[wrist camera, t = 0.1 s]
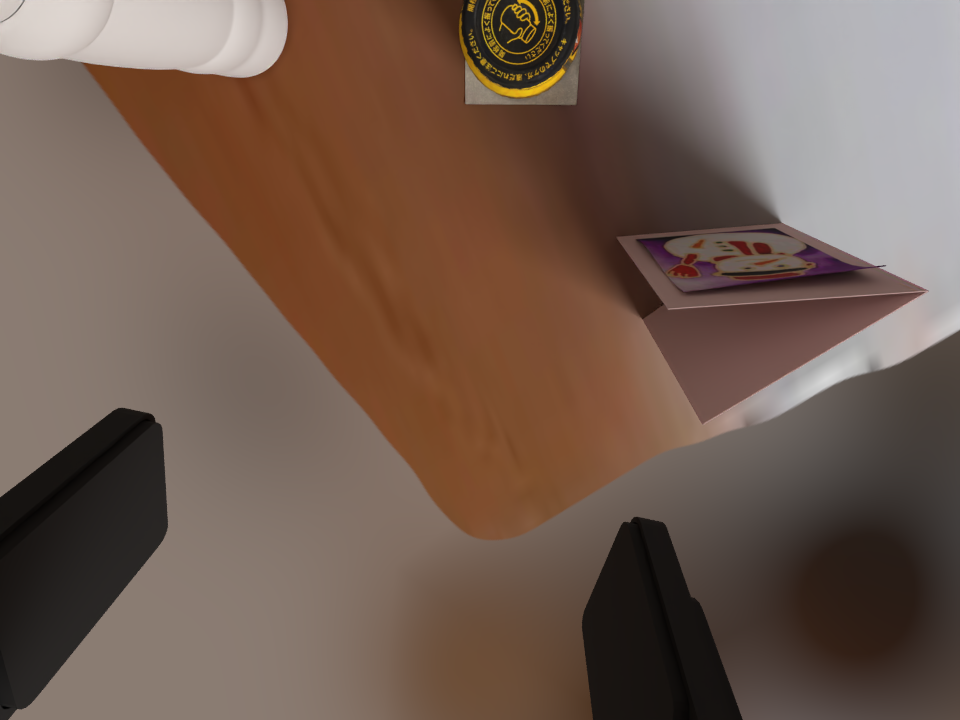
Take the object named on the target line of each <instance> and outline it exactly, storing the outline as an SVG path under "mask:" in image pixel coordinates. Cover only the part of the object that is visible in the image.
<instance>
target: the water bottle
mask: <svg viewBox="0 0 960 720" xmlns="http://www.w3.org/2000/svg"><path fill="white" fill-rule="evenodd" d="M287 28H288V19H287V11H286V6H285V2H284V0H0V54H4V55H7V56H11V57H15V58H21V59H28V60H53V59H60V58H64V59H69V60H74V61H79V62H85V63H91V64H99V65H107V66H116V67H126V68H139V69H178V70H181V71H185V72H190V73H197V74H218V75H222V76H228V77H251V76H255V75H258V74H260V73H262V72H264V71H266V70H267V69H268V68H270V67H271V66H272V65H273V64H274V63H275V61H276V60H277V59H278V57H279V56H280V54H281V52H282V50H283V47H284V45H285V42H286V37H287Z"/></svg>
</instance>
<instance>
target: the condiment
mask: <svg viewBox="0 0 960 720" xmlns="http://www.w3.org/2000/svg"><path fill="white" fill-rule="evenodd" d="M583 10H584V0H464V2H463V6H462V8H461V13H460V17H459V37H460V45H461V49H462V51H463V54H464V57H465V104H517V105H576V103H577V89H578V75H579V62H580V49H581V36H582V24H583Z"/></svg>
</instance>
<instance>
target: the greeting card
mask: <svg viewBox="0 0 960 720" xmlns="http://www.w3.org/2000/svg"><path fill="white" fill-rule="evenodd" d="M616 238H617V239H618V241H619V242H620V244H621V245H622V246H623V248H624V249H625V251H626V252H627V253H628V255H629V256H630V257H631V259H632V260H633V262H634V263H635V264H636V266H637V267H638V269H639V270H640V271H641V273H642V274H643V276H644V277H645V278H646V280H647V281H648V283H649V284H650V285H651V287H652V288H653V290H654V291H655V292H656V294H657V295H658V296H659V298H660V299H661V301H662V302H663V303H664V305H663V306H661V307H660V308H658V309H657V310H655V311H654V312H652V313H651V314H650V315H648V316H647V317H645V318H644V319H643V321H644V323H645V324H646V326H647V328H648V330H649V331H650V333H651V335H652V337H653V338H654V340H655V342H656V344H657V345H658V347H659V349H660V351H661V353H662V354H663V356H664V358H665V360H666V361H667V363H668V365H669V367H670V368H671V370H672V372H673V374H674V375H675V377H676V379H677V381H678V382H679V384H680V386H681V388H682V389H683V391H684V393H685V395H686V396H687V398H688V400H689V402H690V403H691V405H692V407H693V409H694V410H695V412H696V414H697V416H698V417H699V419H700V421H701V423H702V424H705V423H707V422H709V421H710V420H712V419H714V418H715V417H717V416H719V415H720V414H722V413H724V412H725V411H727V410H729V409H731V408H732V407H734V406H736V405H737V404H739V403H741V402H742V401H744V400H746V399H747V398H749V397H751V396H753V395H754V394H756V393H758V392H759V391H761V390H763V389H764V388H766V387H768V386H769V385H771V384H773V383H775V382H776V381H778V380H780V379H781V378H783V377H785V376H786V375H788V374H790V373H791V372H793V371H795V370H797V369H798V368H800V367H802V366H803V365H805V364H807V363H808V362H810V361H812V360H813V359H815V358H817V357H819V356H820V355H822V354H824V353H825V352H827V351H829V350H830V349H832V348H834V347H835V346H837V345H839V344H841V343H842V342H844V341H846V340H847V339H849V338H851V337H852V336H854V335H856V334H857V333H859V332H861V331H863V330H864V329H866V328H868V327H869V326H871V325H873V324H874V323H876V322H878V321H879V320H881V319H883V318H885V317H886V316H888V315H890V314H891V313H893V312H895V311H896V310H898V309H900V308H901V307H903V306H905V305H907V304H908V303H910V302H912V301H913V300H915V299H917V298H918V297H920V296H922V295H923V294H925V293H927V292H929V291H928V290H926V289H924V288H922V287H919V286H917V285H915V284H913V283H911V282H909V281H906V280H904V279H902V278H900V277H898V276H896V275H893V274H891V273H889V272H887V271H885V270H883V269H880V268H878V267H883V266H886V265H883V266H874V265H872V264H870V263H867V262H865V261H863V260H861V259H859V258H857V257H854V256H852V255H850V254H848V253H846V252H844V251H841V250H839V249H837V248H835V247H833V246H831V245H829V244H826V243H824V242H822V241H820V240H818V239H816V238H813V237H811V236H809V235H807V234H805V233H803V232H800V231H798V230H796V229H794V228H792V227H790V226H787V225H785V224H783V223H777V224H765V225H752V226H740V227H728V228H716V229H704V230H692V231H680V232H668V233H656V234H644V235H632V236H620V237H616Z"/></svg>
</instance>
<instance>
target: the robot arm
mask: <svg viewBox="0 0 960 720" xmlns="http://www.w3.org/2000/svg"><path fill="white" fill-rule="evenodd" d="M166 502H167V501H166V483H165V466H164V451H163V432H162V427H161V425H160V424H159V423H156V422H155V418H154V416H153V415H152V414H149V413H145V412H140V411H135V410H131V409H126V408H118V409H116V410H114V411H112V412H111V413H110V414H109V415H107V416H106V417H105V418H103V419H102V420H101V421H99V422H98V423H97V424H96V425H94V426H93V427H92V428H90V429H89V430H88V431H87V432H85V433H84V434H82V435H81V436H80V437H79V438H77V439H76V440H75V441H73V442H72V443H71V444H69V445H68V446H67V447H65V448H64V449H63V450H62V451H60V452H59V453H58V454H56V455H55V456H54V457H53V458H51V459H50V460H49V461H47V462H46V463H45V464H43V465H42V466H41V467H39V468H38V469H37V470H36V471H34V472H33V473H32V474H30V475H29V476H28V477H26V478H25V479H24V480H22V481H21V482H20V483H18V484H17V485H16V486H15V487H13V488H12V489H11V490H10V491H8V492H7V493H5V494H4V495H3V496H1V497H0V720H8V719H9V718H10V717H11V716H12V714H13V713H14V712H15V711H16V710H17V709H23V708H26V707H27V706H28V705H30V704H31V703H32V702H33V701H34V700H35V698H36V697H37V696H38V695H39V694H40V692H41V691H42V690H43V689H44V688H45V686H46V685H47V684H48V682H49V681H50V680H51V679H52V677H53V676H54V675H55V674H56V673H57V671H58V670H59V669H60V668H61V666H62V665H63V664H64V663H65V662H66V660H67V659H68V658H69V657H70V655H71V654H72V653H73V651H74V650H75V649H76V648H77V647H78V645H79V644H80V643H81V642H82V640H83V639H84V638H85V637H86V636H87V634H88V633H89V632H90V631H91V629H92V628H93V627H94V626H95V624H96V623H97V622H98V621H99V619H100V618H101V617H102V616H103V614H104V613H105V612H106V611H107V609H108V608H109V607H110V606H111V605H112V603H113V602H114V601H115V599H116V598H117V597H118V596H119V594H120V593H121V592H122V591H123V590H124V588H125V587H126V586H127V585H128V583H129V582H130V581H131V580H132V578H133V577H134V576H135V575H136V574H137V572H138V571H139V570H140V569H141V567H142V566H143V565H144V564H145V562H146V561H147V560H148V559H149V557H150V556H151V555H152V554H153V553H154V551H155V550H156V549H157V548H158V546H159V545H160V544H161V542H162V541H163V539H164V536H165V534H166V532H167V528H168V519H167V518H168V517H167V503H166ZM582 631H583V639H584V648H585V656H586V665H587V672H588V681H589V689H590V697H591V706H592V714H593V720H743V719H742V716H741V714H740V711H739V708H738V706H737V703H736V700H735V697H734V695H733V692H732V689H731V686H730V683H729V681H728V678H727V675H726V673H725V670H724V667H723V664H722V662H721V659H720V656H719V653H718V650H717V648H716V645H715V642H714V639H713V637H712V634H711V631H710V628H709V626H708V623H707V620H706V617H705V614H704V612H703V609H702V607H701V605H700V603H699V602H698V601H697V600H696V599H695V598H692V597H691V596H690V593H689V590H688V588H687V585H686V582H685V579H684V576H683V573H682V570H681V567H680V564H679V562H678V559H677V556H676V553H675V550H674V547H673V544H672V541H671V539H670V536H669V533H668V530H667V527H666V525H665V524H664V523H663V522H659V521H655V520H650V519H645V518H640V517H634V518H633V519H632V520H631V522H630V523H629V522H623V524H622V525H621V527H620V529H619V531H618V534H617V536H616V538H615V541H614V543H613V545H612V548H611V550H610V552H609V555H608V557H607V559H606V562H605V564H604V566H603V568H602V571H601V573H600V576H599V578H598V580H597V582H596V585H595V587H594V589H593V592H592V594H591V596H590V599H589V601H588V603H587V605H586V608H585V610H584V614H583V620H582Z"/></svg>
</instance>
